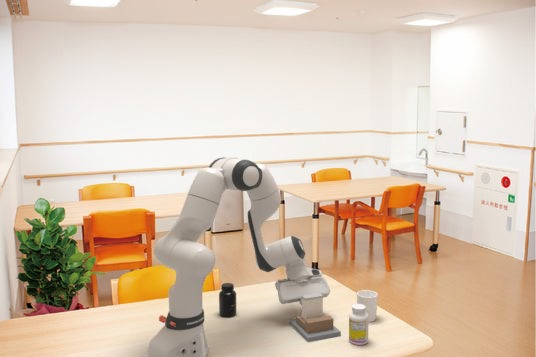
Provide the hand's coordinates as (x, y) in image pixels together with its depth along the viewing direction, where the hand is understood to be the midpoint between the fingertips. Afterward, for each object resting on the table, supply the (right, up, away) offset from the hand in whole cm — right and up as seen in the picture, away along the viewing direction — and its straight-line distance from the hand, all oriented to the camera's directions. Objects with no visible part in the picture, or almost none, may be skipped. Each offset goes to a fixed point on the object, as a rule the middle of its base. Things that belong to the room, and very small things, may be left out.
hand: (309, 310), depth 199 cm
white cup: (+22, -5, +6) cm, 24 cm away
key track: (+1, -6, -2) cm, 7 cm away
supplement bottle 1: (-31, -5, +12) cm, 34 cm away
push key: (+1, -4, -1) cm, 5 cm away
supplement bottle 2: (+16, -8, -12) cm, 22 cm away
